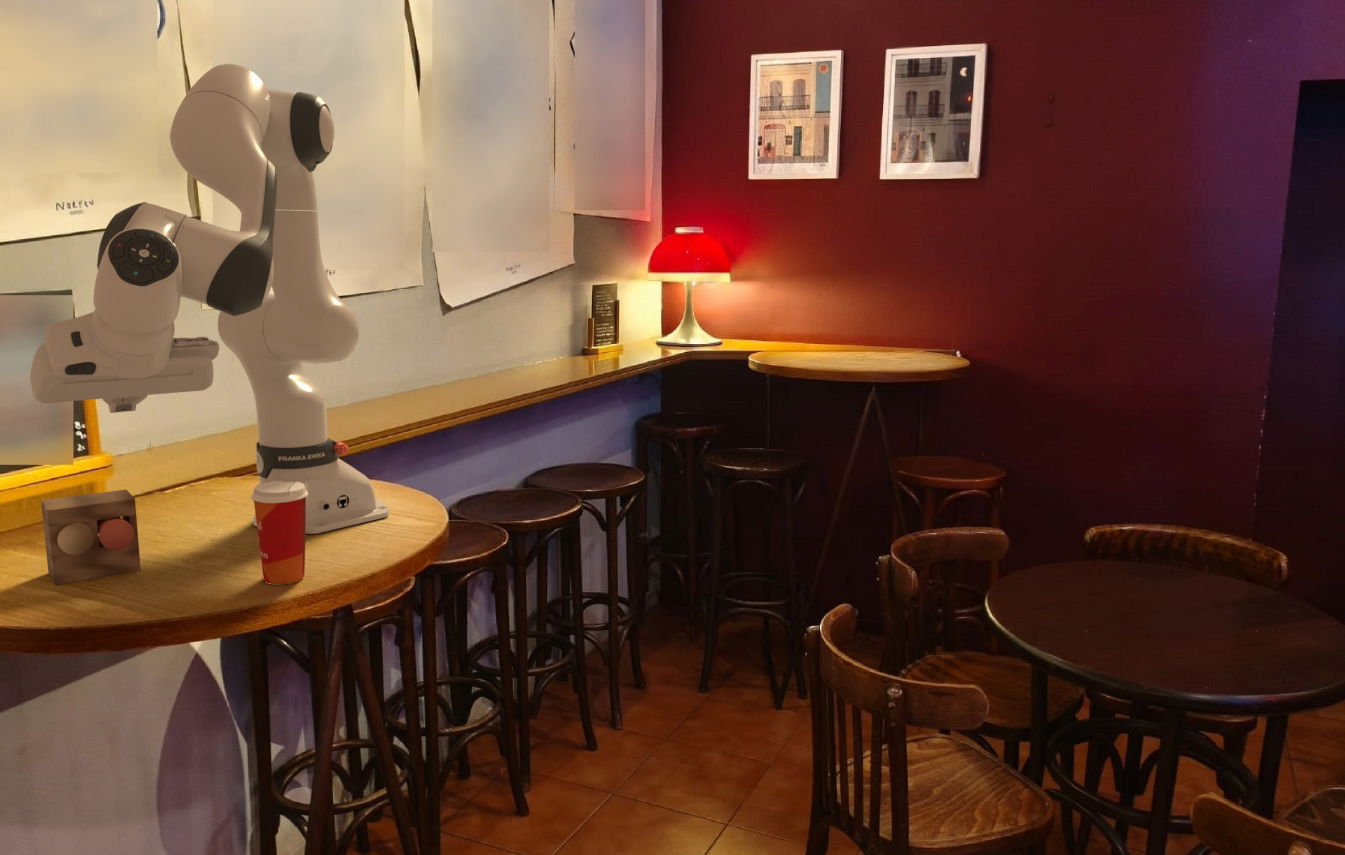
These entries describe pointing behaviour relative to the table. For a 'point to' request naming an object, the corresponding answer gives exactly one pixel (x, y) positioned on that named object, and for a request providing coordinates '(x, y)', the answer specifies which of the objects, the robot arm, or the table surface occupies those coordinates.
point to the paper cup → (281, 530)
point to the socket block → (87, 536)
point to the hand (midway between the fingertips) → (121, 407)
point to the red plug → (115, 533)
